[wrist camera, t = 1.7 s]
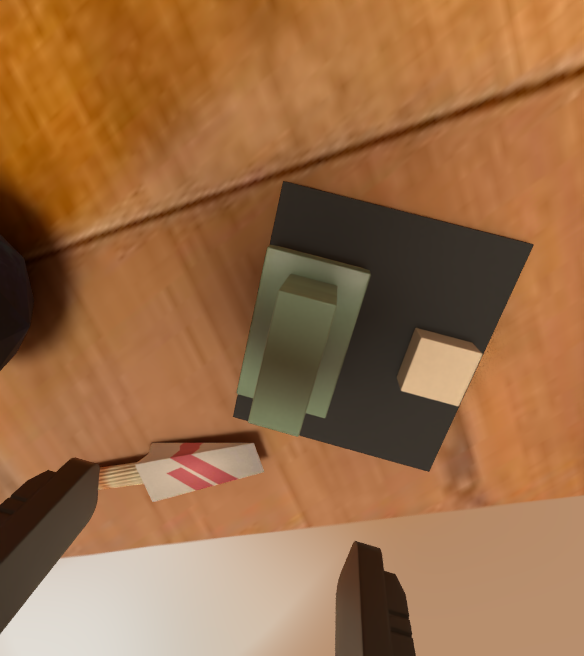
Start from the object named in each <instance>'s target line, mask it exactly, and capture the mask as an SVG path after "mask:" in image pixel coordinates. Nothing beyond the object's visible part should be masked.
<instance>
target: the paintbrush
mask: <svg viewBox="0 0 584 656" xmlns="http://www.w3.org/2000/svg"><path fill="white" fill-rule="evenodd" d="M262 472H264V470H263V467H262V464H261V462H260V459H259V456H258V453H257V451H256V448H255V445H254V443H151V447H150V452H149V454H147V455H146V456H145V457H144V458H142V459H141V460H140V461H139V462H135V463H128V464H122V465H115V466H108V467H100V472H99V485H98V490H100V489H108V488H116V487H123V486H131V485H139V484H144V485H145V487H146V489H147V491H148V493H149V495H150V497H151V499H152V501H153V502H155V501H158V500H162V499H166V498H170V497H173V496H177V495H181V494H184V493H188V492H192V491H195V490H199V489H203V488H207V487H210V486H214V485H218V484H221V483H225V482H229V481H233V480H236V479H240V478H244V477H247V476H251V475H255V474H258V473H262Z"/></svg>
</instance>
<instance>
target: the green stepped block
mask: <svg viewBox="0 0 584 656" xmlns="http://www.w3.org/2000/svg"><path fill="white" fill-rule="evenodd" d="M370 276H371V273H370V271H369V270H367V269H363V268H361V267H357V266H353V265H349V264H345V263H341V262H337V261H334V260H330V259H326V258H322V257H318V256H314V255H311V254H307V253H303V252H299V251H295V250H291V249H288V248H284V247H280V246H275V245H270V246H268V247H267V251H266V256H265V260H264V265H263V270H262V275H261V279H260V284H259V289H258V294H257V298H256V303H255V308H254V313H253V317H252V322H251V327H250V331H249V336H248V341H247V346H246V350H245V355H244V360H243V365H242V369H241V374H240V379H239V384H238V388H237V394H239V395H243V396H246V397H250V398H253V402H252V406H251V411H250V415H249V419H248V423H251V424H254V425H258V426H261V427H265V428H268V429H272V430H276V431H279V432H283V433H286V434H290V435H293V436H297V437H298V436H299V434H300V431H301V427H302V424H303V420H304V417H305V414H306V413H307V414H311V415H315V416H318V417H322V418H325V417H326V415H327V412H328V408H329V405H330V402H331V399H332V396H333V393H334V390H335V386H336V383H337V380H338V377H339V374H340V371H341V368H342V364H343V361H344V358H345V355H346V352H347V349H348V345H349V342H350V339H351V336H352V333H353V330H354V327H355V323H356V320H357V317H358V314H359V311H360V308H361V304H362V301H363V298H364V295H365V292H366V289H367V286H368V282H369V279H370Z"/></svg>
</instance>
